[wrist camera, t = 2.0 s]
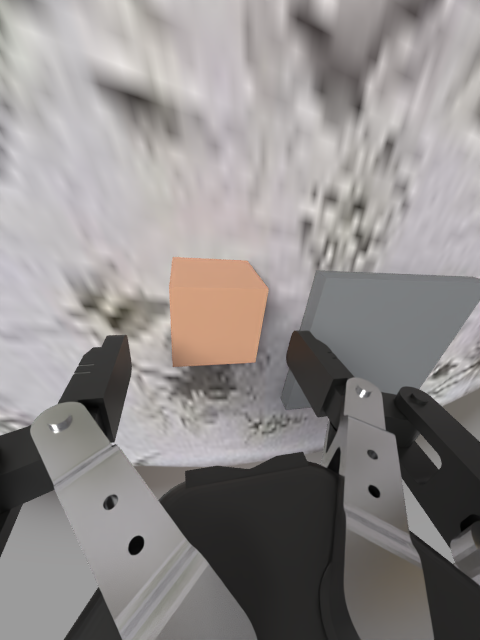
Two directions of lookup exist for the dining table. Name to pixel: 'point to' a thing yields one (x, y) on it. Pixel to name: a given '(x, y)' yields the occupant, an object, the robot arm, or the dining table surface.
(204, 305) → the cube
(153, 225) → the dining table surface
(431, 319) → the mat
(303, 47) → the dining table surface
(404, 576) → the robot arm
